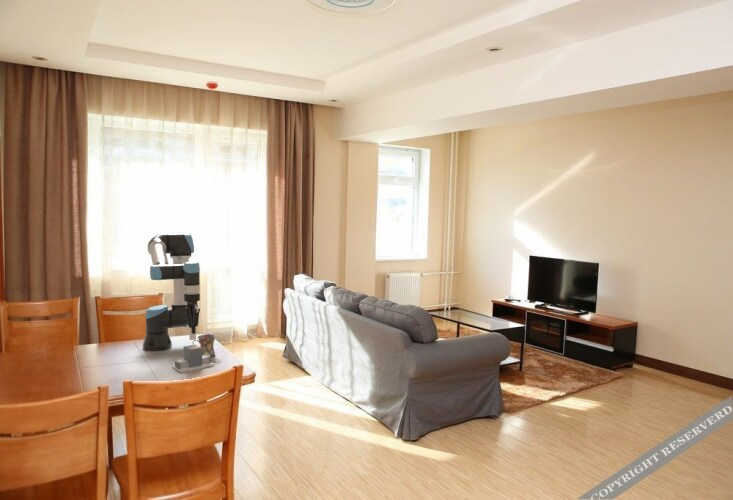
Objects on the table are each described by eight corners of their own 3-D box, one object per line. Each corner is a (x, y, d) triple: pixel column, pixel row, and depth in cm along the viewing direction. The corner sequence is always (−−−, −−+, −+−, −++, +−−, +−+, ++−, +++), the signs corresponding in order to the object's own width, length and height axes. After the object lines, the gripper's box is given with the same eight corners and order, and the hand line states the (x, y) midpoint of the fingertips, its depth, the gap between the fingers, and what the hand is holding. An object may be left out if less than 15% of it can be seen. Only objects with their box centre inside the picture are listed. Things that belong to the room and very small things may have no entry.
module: (183, 363, 264) (183, 345, 263) (195, 361, 268) (195, 343, 267) (190, 367, 258) (190, 349, 257) (202, 365, 262) (201, 347, 261)
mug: (214, 352, 288) (214, 333, 287) (217, 357, 280) (217, 337, 279) (191, 354, 283) (191, 335, 282) (193, 359, 275) (193, 339, 274)
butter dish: (172, 367, 262) (171, 359, 261) (204, 360, 273) (204, 352, 273) (181, 372, 254) (180, 364, 253) (213, 365, 265) (213, 357, 265)
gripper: (179, 292, 262) (180, 338, 264) (190, 295, 252) (190, 343, 255) (193, 290, 267) (194, 335, 269) (204, 294, 257) (205, 340, 260)
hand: (192, 339), depth 262 cm, fingers closed
